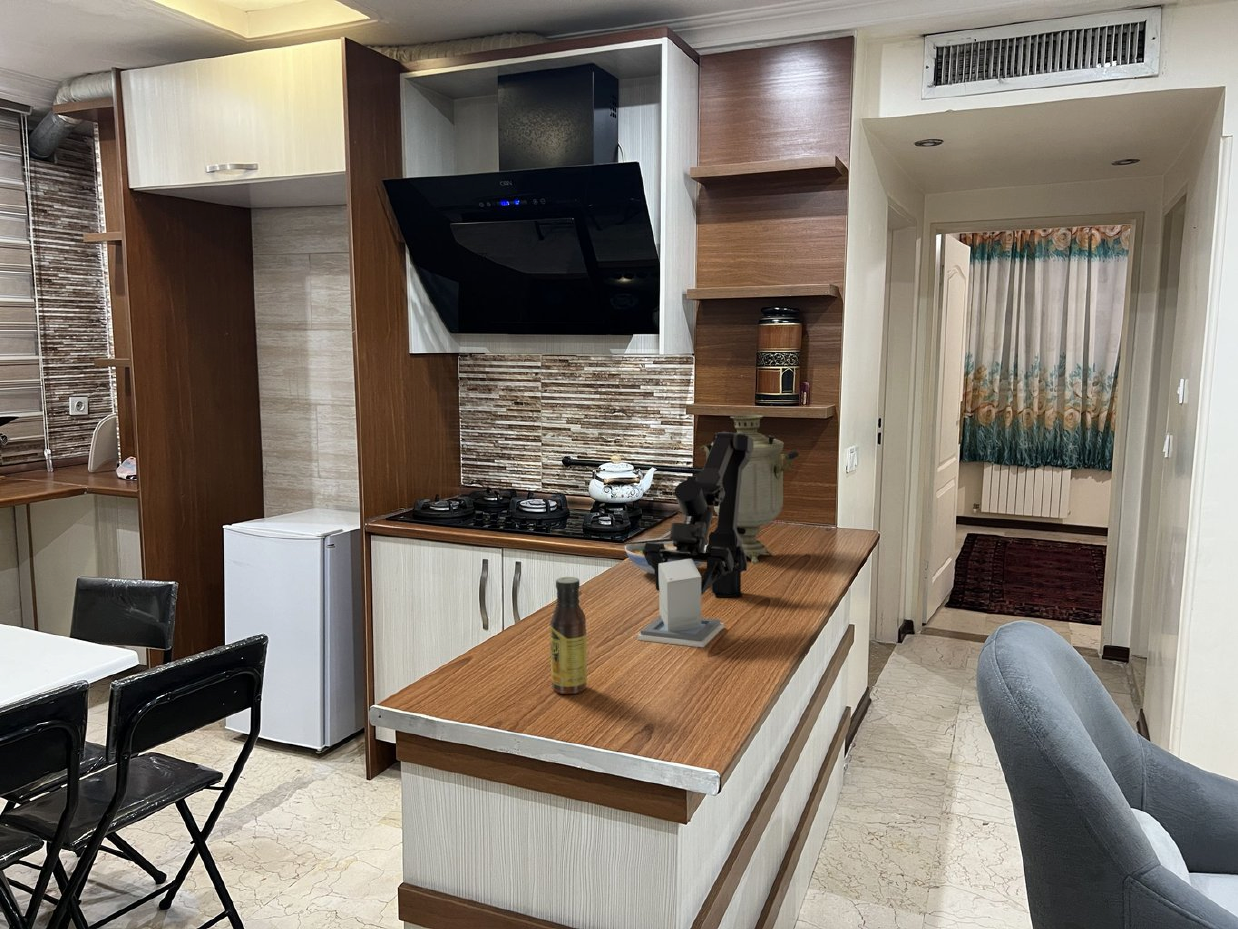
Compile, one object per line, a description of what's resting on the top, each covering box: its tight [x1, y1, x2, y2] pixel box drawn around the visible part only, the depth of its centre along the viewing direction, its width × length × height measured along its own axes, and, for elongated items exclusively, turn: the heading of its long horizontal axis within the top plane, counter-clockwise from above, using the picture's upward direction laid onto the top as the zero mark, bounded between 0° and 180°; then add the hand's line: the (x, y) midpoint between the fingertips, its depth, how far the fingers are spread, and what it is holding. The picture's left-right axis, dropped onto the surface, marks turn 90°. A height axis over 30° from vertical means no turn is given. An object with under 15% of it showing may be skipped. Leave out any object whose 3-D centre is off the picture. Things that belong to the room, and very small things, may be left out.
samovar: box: [699, 414, 800, 564], centre depth 261 cm, size 30×26×40 cm
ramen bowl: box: [614, 537, 708, 576], centre depth 243 cm, size 25×23×8 cm
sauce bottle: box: [549, 576, 588, 695], centre depth 161 cm, size 7×6×20 cm
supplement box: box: [658, 559, 702, 632], centre depth 190 cm, size 7×7×13 cm
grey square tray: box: [637, 614, 724, 648], centre depth 193 cm, size 14×14×2 cm
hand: (678, 591), depth 190 cm, fingers closed on supplement box, 9 cm apart
